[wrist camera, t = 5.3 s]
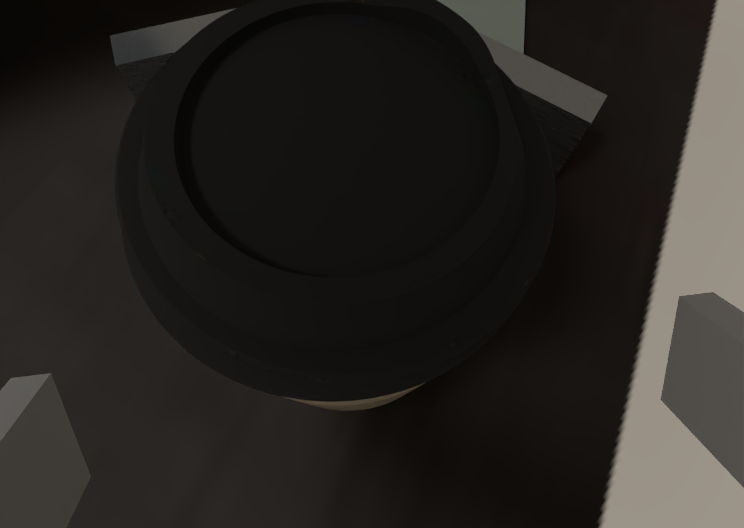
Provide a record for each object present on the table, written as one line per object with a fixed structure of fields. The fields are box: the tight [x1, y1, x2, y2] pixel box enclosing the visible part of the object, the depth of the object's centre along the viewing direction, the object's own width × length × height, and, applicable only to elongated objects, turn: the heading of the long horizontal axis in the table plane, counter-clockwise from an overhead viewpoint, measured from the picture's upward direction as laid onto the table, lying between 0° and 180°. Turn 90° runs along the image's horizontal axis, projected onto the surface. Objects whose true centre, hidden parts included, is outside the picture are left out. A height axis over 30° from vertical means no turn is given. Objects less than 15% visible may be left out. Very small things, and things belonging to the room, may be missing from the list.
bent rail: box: [110, 8, 608, 177], centre depth 25 cm, size 20×4×5 cm, turn 83°
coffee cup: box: [115, 0, 556, 411], centre depth 16 cm, size 9×9×15 cm
